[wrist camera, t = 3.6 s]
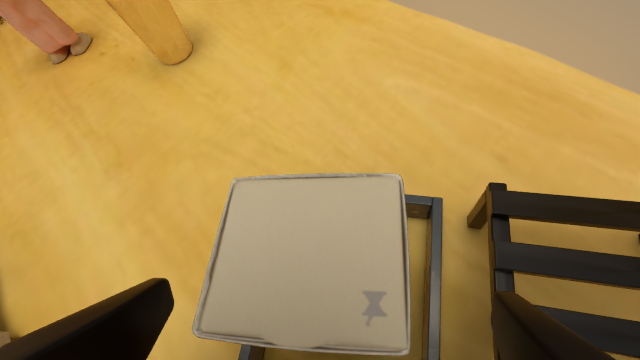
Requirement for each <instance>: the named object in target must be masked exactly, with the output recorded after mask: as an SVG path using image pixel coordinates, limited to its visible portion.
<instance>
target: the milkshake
mask: <svg viewBox="0 0 640 360" xmlns="http://www.w3.org/2000/svg"><path fill="white" fill-rule="evenodd" d="M105 1H106V3H107V4H108V5H109V6H110V7H111V8H112V9H113V10H114V11H115V12H116V13H117V14H118V15H119V16H120V17H121V18H122V20H123V21H124V22H125V23H126V24H127V25H128V26H129V27H130V28H131V29H132V31H133V32H134V33H135V34H136V35H137V36H138V37H139V38H140V39H141V41H142V42H143V43H144V44H145V45H146V46H147V47H148V48H149V49H150V50H151V52H152V53H153V54H154V55H155V56H156V57H157V58H158V59H159V60H160V61H161V62H163V63H164V64H166V65H169V64H177V63H179V62H181V61H182V60H184V59H186V58H187V57H188V55H189V54H190V53H191V51H192V42H191V40H190V38H189V37H188V35H187V33H186V31H185V29H184V27H183V25H182V24H181V22H180V20H179V18H178V16H177V14H176V12H175V11H174V9H173V7H172V5H171V3H170V1H169V0H105Z"/></svg>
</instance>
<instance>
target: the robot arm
mask: <svg viewBox="0 0 640 360" xmlns="http://www.w3.org/2000/svg"><path fill="white" fill-rule="evenodd" d="M173 307H174V299H173V295H172V291H171V287H170V284H169V281H168V280H167V279H165V278H152V279H149V280H147V281H145V282H143V283H140V284H138V285H136V286H134V287H131V288H129V289H127V290H125V291H123V292H120V293H118V294H116V295H114V296H111V297H109V298H107V299H105V300H103V301H100V302H98V303H96V304H94V305H91V306H89V307H87V308H85V309H82V310H80V311H78V312H76V313H74V314H71V315H69V316H67V317H65V318H62V319H60V320H58V321H56V322H53V323H51V324H49V325H47V326H45V327H42V328H40V329H38V330H36V331H33V332H31V333H29V334H27V335H25V336H22V337H20V338H18V339H16V340H13V341H11V342H9V343H7V344H4V345H3V346H1V347H0V360H146V359H147V357H148V355H149V354H150V352H151V350H152V348H153V346H154V344H155V342H156V341H157V339H158V337H159V335H160V333H161V331H162V329H163V327H164V325H165V323H166V322H167V320H168V318H169V316H170V314H171V312H172V310H173ZM491 327H492V331H493V334H494V337H495V341H496V344H497V347H498V351H499V354H500V357H501V360H615V359H614V358H612V357H611V356H609V355H608V354H606V353H605V352H603V351H602V350H600V349H599V348H597V347H596V346H594V345H593V344H591V343H590V342H588V341H587V340H585V339H584V338H582V337H581V336H579V335H578V334H576V333H575V332H573V331H572V330H570V329H569V328H567V327H566V326H564V325H563V324H561V323H560V322H558V321H557V320H555V319H554V318H552V317H551V316H549V315H548V314H546V313H545V312H543V311H542V310H540V309H539V308H537V307H536V306H534V305H533V304H531V303H530V302H528V301H527V300H525V299H524V298H522V297H521V296H519V295H518V294H516V293H514V292H511V291H496V292H494V294H493V299H492V309H491Z"/></svg>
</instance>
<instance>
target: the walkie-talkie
mask: <svg viewBox="0 0 640 360" xmlns="http://www.w3.org/2000/svg"><path fill="white" fill-rule="evenodd" d="M9 342H11V339H10V334H9V332H0V347H1V346H3V345H4V344H7V343H9Z"/></svg>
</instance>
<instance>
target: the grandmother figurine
mask: <svg viewBox="0 0 640 360" xmlns="http://www.w3.org/2000/svg"><path fill="white" fill-rule="evenodd" d="M0 16H1V17H2V18H4V19H5V20H6V21H7V22H8V23H9V24H10V25H11V26H12V27H14V28H15V29H16V30H17V31H18V32H19V33H20V34H22V35H23V36H24V37H26V38H27V39H28V40H30V41H31V42H32V43H34V44H35V45H36V46H37V47H39V48H40V49H41V50H42V51H44V52H45V53H48V54H49V56H50V60H51V62H52V63H53V64H57V63H60V62H62V61H63V60H65V58H66V57H67V54H68V50H69V46H68V45H71V46H70V51H71V53H72V54H73V55H78V54H81V53H83V52H84V51H85V50H86V49H87V47H88V46H89V44H90V42H91V40H92V38H91V36H89V35H88V34H85V33H76V32H75V31H74V30H73V29H72V28H71V27H70V26H68V25H67V24H66V23H65V22H64V21H63V20H62V19H61V18H59V17H58V16H57V15H56V14H55V13H54V12H53V11H52V10H51V9H50V8H49V7H48V6H47V5H45V4H44V3H43V2H42V1H41V0H0Z"/></svg>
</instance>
